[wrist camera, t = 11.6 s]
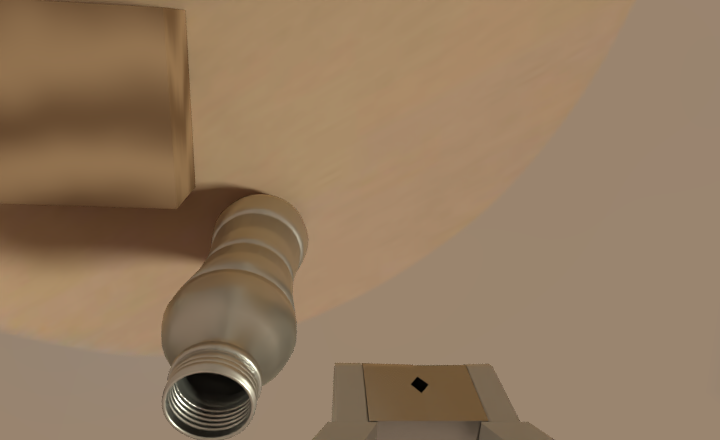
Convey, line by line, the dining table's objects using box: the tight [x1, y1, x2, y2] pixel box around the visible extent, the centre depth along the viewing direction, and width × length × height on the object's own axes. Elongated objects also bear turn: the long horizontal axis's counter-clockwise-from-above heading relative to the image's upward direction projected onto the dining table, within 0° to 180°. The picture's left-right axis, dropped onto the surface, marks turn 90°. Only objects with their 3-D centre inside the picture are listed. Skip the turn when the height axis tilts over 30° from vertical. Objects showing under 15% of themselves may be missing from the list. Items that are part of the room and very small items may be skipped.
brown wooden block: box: [0, 0, 195, 209], centre depth 33 cm, size 12×11×5 cm
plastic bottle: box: [161, 194, 308, 440], centre depth 30 cm, size 6×7×20 cm
